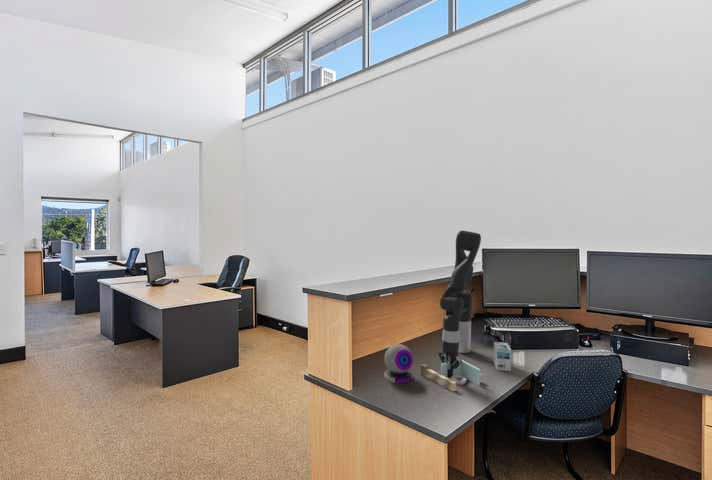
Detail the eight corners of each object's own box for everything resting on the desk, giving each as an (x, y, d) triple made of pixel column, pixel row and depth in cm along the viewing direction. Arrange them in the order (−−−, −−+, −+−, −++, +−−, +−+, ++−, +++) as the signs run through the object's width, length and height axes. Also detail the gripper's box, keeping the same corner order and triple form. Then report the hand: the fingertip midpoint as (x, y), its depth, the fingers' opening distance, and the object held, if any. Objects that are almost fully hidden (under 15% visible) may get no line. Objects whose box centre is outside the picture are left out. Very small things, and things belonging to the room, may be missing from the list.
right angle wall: (440, 379, 169) (440, 363, 169) (461, 375, 174) (462, 359, 174) (457, 391, 158) (458, 373, 158) (479, 386, 163) (480, 369, 163)
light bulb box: (511, 371, 178) (512, 349, 178) (496, 370, 180) (497, 348, 179) (506, 363, 189) (507, 342, 188) (492, 362, 190) (493, 341, 189)
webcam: (392, 385, 162) (393, 351, 161) (379, 373, 174) (379, 342, 173) (418, 380, 167) (418, 347, 166) (403, 369, 179) (403, 339, 178)
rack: (420, 374, 174) (420, 364, 173) (449, 366, 183) (449, 357, 183) (452, 391, 157) (452, 381, 156) (482, 382, 166) (482, 372, 166)
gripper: (434, 336, 173) (433, 372, 174) (455, 344, 161) (454, 383, 163) (446, 333, 177) (444, 369, 178) (467, 342, 165) (466, 380, 166)
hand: (449, 376), depth 170 cm, fingers closed
